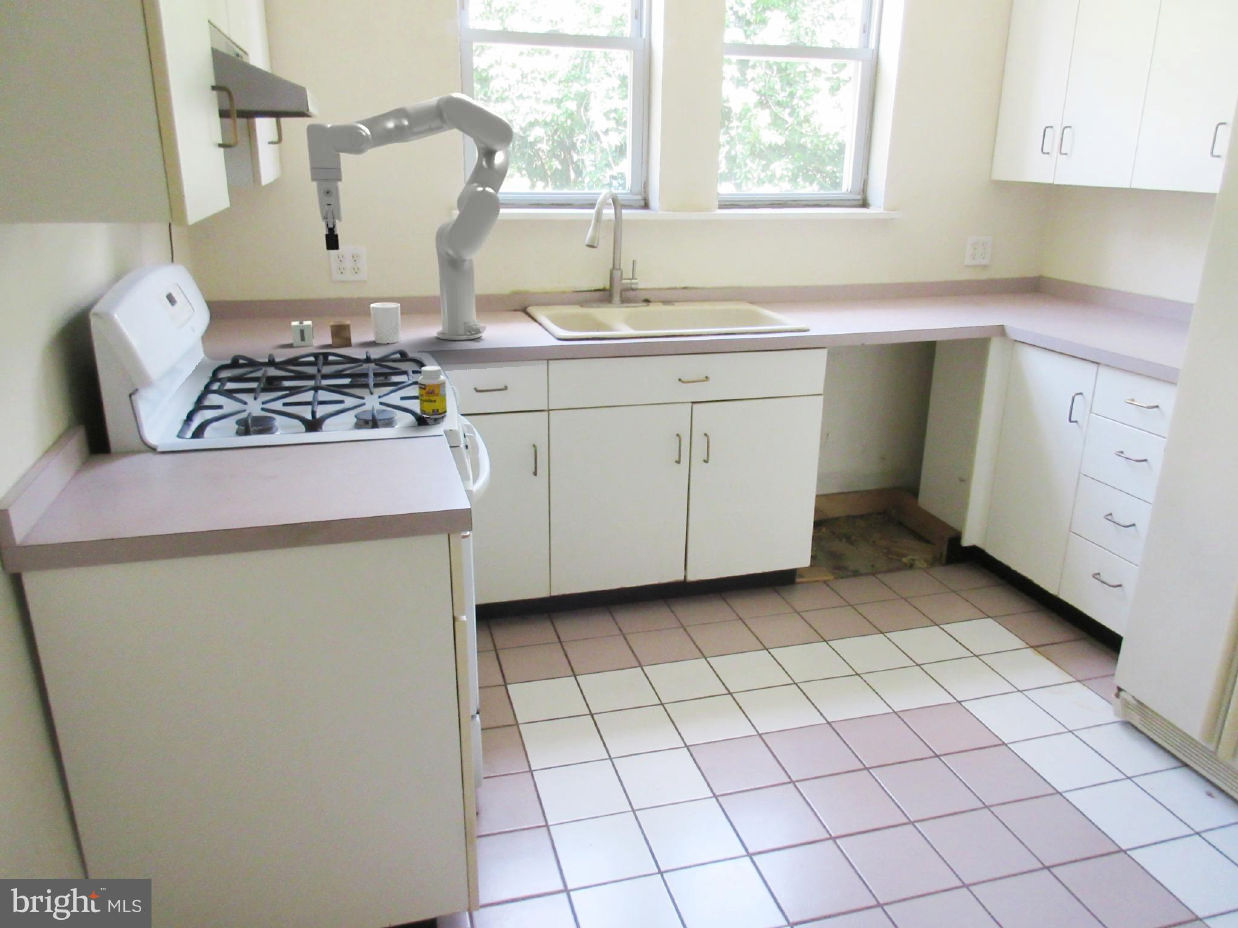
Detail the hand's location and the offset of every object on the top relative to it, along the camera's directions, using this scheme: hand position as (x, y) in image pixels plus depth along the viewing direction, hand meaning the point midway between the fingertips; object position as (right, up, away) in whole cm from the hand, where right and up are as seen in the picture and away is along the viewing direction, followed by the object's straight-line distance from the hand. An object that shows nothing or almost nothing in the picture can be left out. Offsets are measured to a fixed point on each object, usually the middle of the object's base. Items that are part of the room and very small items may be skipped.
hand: (332, 249), depth 234 cm
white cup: (+11, -22, +13) cm, 28 cm away
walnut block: (0, -24, +8) cm, 25 cm away
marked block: (-11, -23, +8) cm, 27 cm away
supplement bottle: (+37, -46, -53) cm, 80 cm away
